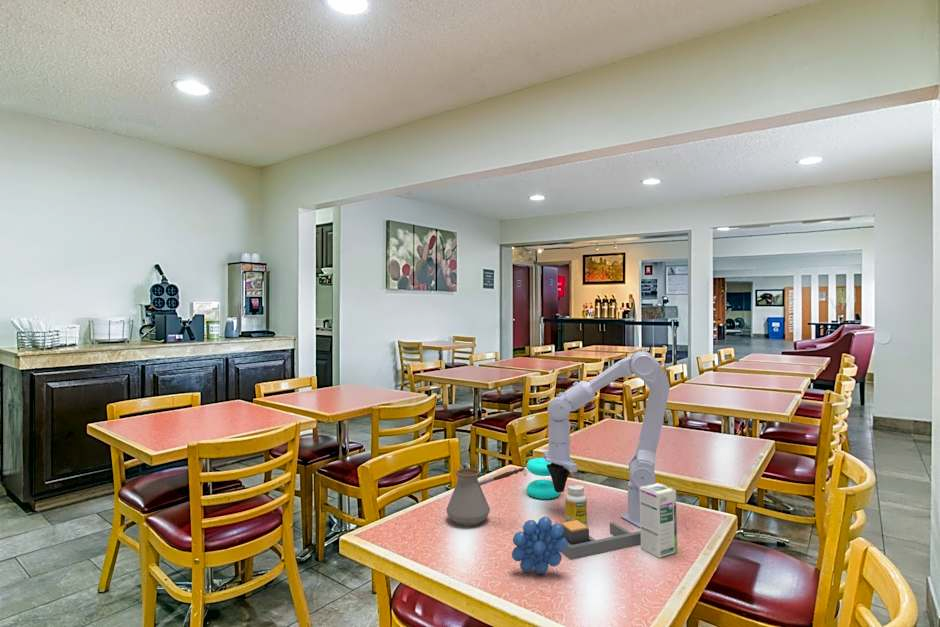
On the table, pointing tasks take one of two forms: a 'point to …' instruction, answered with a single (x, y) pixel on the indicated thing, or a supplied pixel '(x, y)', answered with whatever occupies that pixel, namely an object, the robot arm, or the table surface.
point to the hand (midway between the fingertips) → (559, 491)
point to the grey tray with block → (586, 545)
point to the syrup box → (658, 519)
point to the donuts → (540, 487)
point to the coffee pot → (471, 497)
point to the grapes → (539, 545)
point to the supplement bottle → (576, 504)
